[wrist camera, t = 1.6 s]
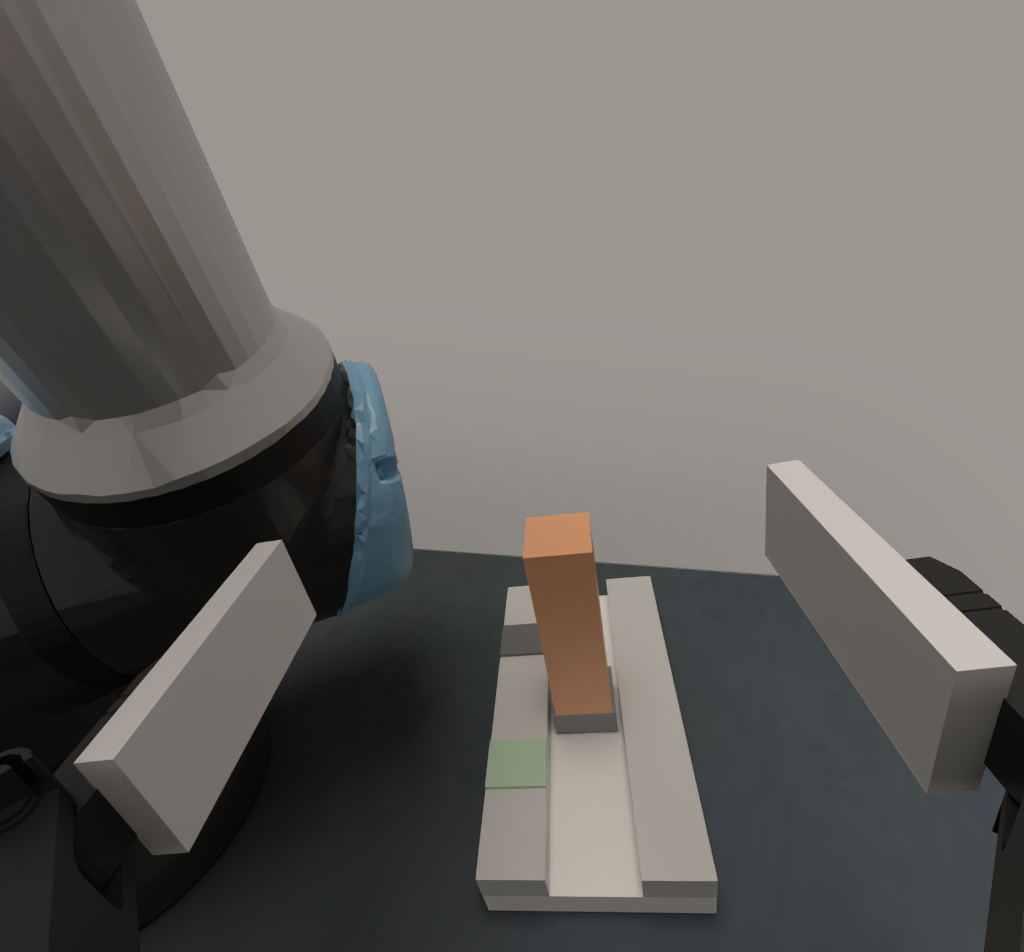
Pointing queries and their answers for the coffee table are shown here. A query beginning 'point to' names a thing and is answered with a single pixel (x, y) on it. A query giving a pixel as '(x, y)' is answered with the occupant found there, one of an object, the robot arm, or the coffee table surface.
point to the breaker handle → (570, 621)
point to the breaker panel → (593, 780)
